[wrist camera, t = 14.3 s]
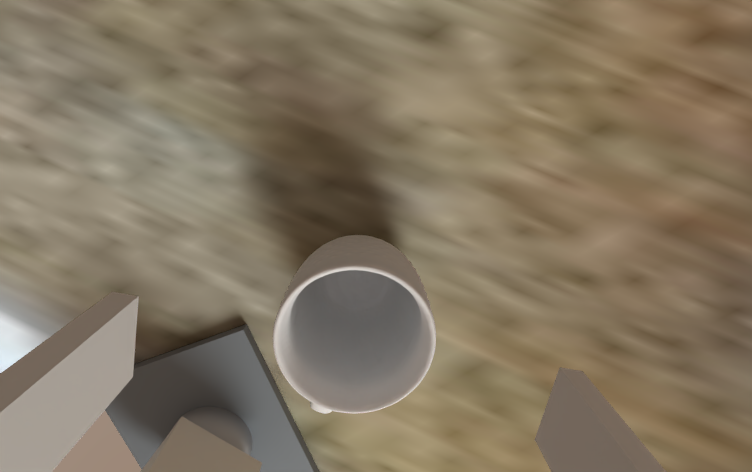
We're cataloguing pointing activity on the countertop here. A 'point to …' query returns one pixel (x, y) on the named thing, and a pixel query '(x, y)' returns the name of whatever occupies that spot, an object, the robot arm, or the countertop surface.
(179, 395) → the post base
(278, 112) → the countertop surface
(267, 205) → the countertop surface
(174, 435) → the cream cube block
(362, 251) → the mug
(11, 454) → the robot arm
